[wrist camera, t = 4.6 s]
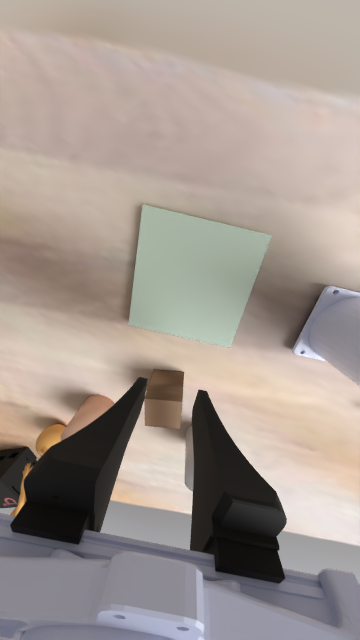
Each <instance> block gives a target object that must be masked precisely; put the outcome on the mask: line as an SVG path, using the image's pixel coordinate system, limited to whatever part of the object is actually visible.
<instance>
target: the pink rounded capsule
mask: <svg viewBox="0 0 360 640" xmlns="http://www.w3.org/2000/svg"><path fill="white" fill-rule="evenodd" d="M114 404H115V403H114V402H113V401H112V400H111V399H109V398H107V397H105V396H102V395H93V396H90V397H88V398H87V399H86V400H85V401H84V403H83V404H82V406H81V407H80V408H79V410H78V411H77V413H76V414H75V415H74V417H73V418H72V419H71V421H70V422H69V424H68V425H67V426H66V428H65V429H64V431H63V432H62V434H61V441H62V440H64V439H66V438H67V437H69V436H71V435H73V434H74V433H76V432H77V431H79V430H80V429H82V428H84V427H85V426H87V425H88V424H90V423H91V422H93V421H94V420H95V419H97V418H98V417H99V416H101V415H102V414H103V413H105V412H106V411H107V410H108V409H109V408H111V407H112V406H113V405H114Z"/></svg>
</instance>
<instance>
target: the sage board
mask: <svg viewBox="0 0 360 640" xmlns="http://www.w3.org/2000/svg"><path fill="white" fill-rule="evenodd" d="M271 237H272V235H269V234H265V233H260V232H256V231H252V230H248V229H244V228H239V227H235V226H231V225H227V224H223V223H219V222H214V221H210V220H206V219H202V218H198V217H194V216H189V215H185V214H181V213H177V212H173V211H169V210H164V209H160V208H156V207H152V206H148V205H142V213H141V222H140V230H139V239H138V247H137V256H136V264H135V273H134V281H133V290H132V298H131V307H130V315H129V324H128V325H129V326H134V327H138V328H143V329H147V330H152V331H156V332H161V333H165V334H169V335H174V336H178V337H183V338H187V339H192V340H196V341H201V342H205V343H210V344H214V345H219V346H223V347H228V348H230V347H231V344H232V342H233V339H234V336H235V333H236V331H237V328H238V325H239V323H240V320H241V317H242V315H243V312H244V309H245V307H246V304H247V301H248V299H249V296H250V293H251V290H252V288H253V285H254V282H255V280H256V277H257V274H258V272H259V269H260V266H261V264H262V261H263V258H264V256H265V253H266V250H267V247H268V245H269V242H270V239H271Z"/></svg>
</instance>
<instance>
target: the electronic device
mask: <svg viewBox="0 0 360 640" xmlns="http://www.w3.org/2000/svg"><path fill="white" fill-rule="evenodd" d="M36 458H37V457H36V456H35V455H34V454H33V452H32V451H31V450H30V449H29V447H25V448H17V449H10V450H2V451H0V508H10V507H17V506H18V502H19V497H20V493H21V483H22V479H23V471H24V469H25V466H26V467H27V464H28V463H29V464H30V463H31V464H30V467H29V469H30V468H31V467H33V466H34V465H35V464H36V463H37V461H36V460H35V459H36ZM28 466H29V465H28Z"/></svg>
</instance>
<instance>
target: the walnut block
mask: <svg viewBox="0 0 360 640" xmlns="http://www.w3.org/2000/svg"><path fill="white" fill-rule="evenodd" d="M183 380H184V372H179V371H167V370H155V369H154V371H153V374H152V377H151V380H150V383H149V386H148V389H147V392H146V395H145V398H144V399H145V426H154V427H164V428H174V429H180V423H181V411H182V398H183Z"/></svg>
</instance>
